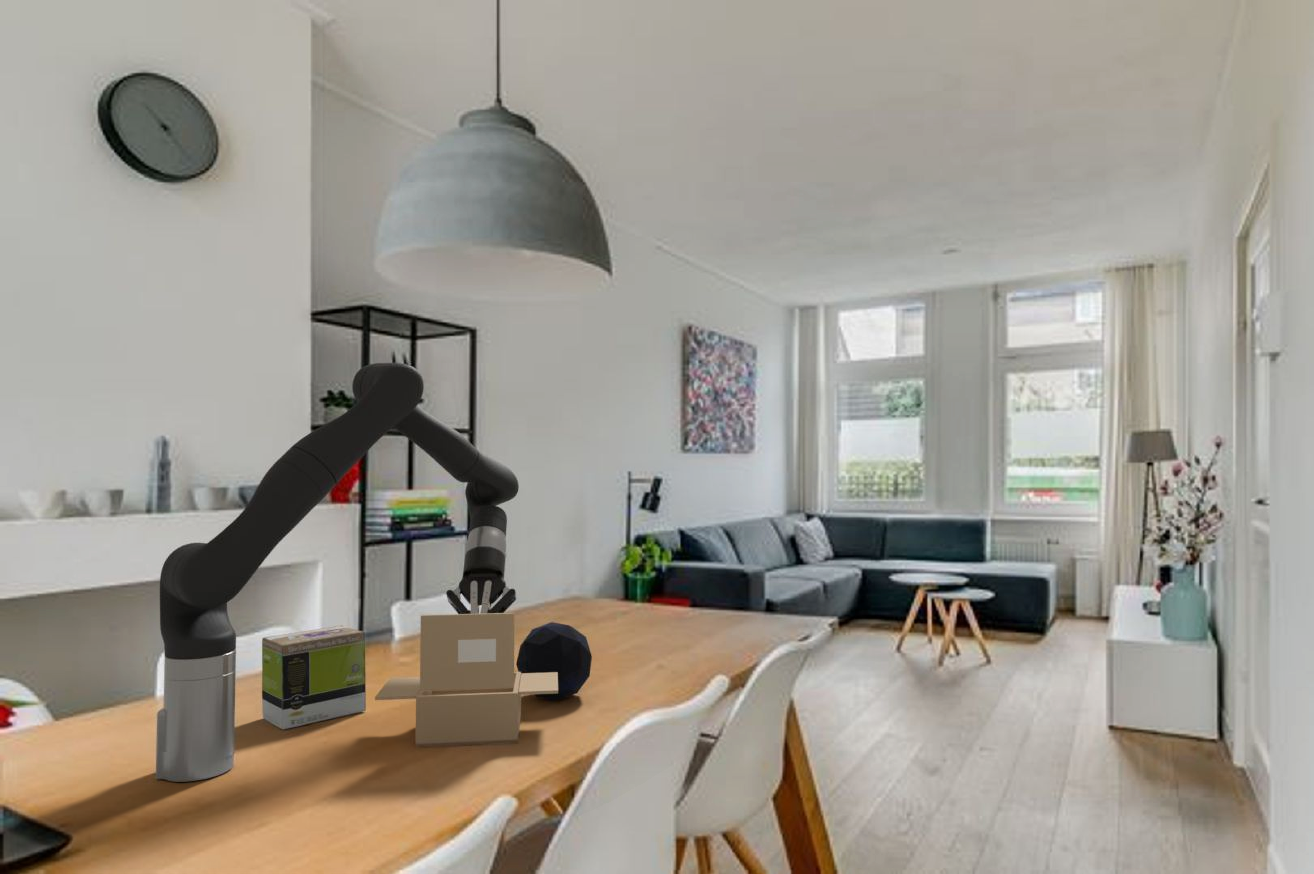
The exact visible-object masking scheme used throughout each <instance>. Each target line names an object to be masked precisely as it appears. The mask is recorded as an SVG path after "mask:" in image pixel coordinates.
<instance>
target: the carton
mask: <svg viewBox="0 0 1314 874" xmlns="http://www.w3.org/2000/svg"><path fill="white" fill-rule="evenodd" d="M555 693H558V672H549V673H521V672H518V671H514V688H504V689H476V690H448V691H420V676H408V677H403V676H402V677H389V679H388V680H387V681H386V682H385V684H384V685H383V686H382V687H381V689H380V690H379V692H378V693H377V694H376V695H375V697H374V700H375V701H388V700H390V701H391V700H415V749H417V748H418V749H419V748H420V749H421V748H436V747H437V748H440V747H442V748H443V747H445V748H446V747H462V746H463V747H464V746H483V745H485V746H486V745H488V746H489V745H490V746H491V745H507V744H518V741H519V733H520V727H521V720H522V719H521V717H522V715H521V713H522V695H526V696H527V695H528V696H529V695H534V694H555Z"/></svg>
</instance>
